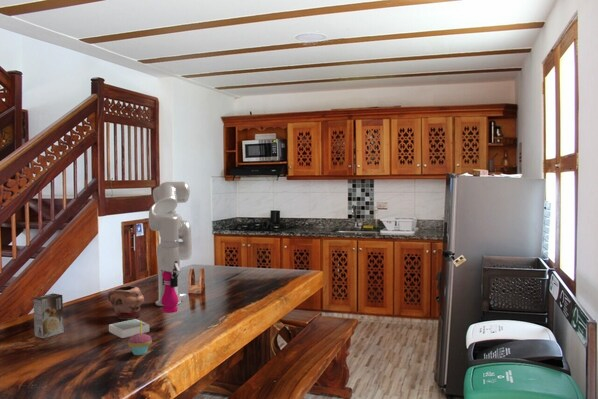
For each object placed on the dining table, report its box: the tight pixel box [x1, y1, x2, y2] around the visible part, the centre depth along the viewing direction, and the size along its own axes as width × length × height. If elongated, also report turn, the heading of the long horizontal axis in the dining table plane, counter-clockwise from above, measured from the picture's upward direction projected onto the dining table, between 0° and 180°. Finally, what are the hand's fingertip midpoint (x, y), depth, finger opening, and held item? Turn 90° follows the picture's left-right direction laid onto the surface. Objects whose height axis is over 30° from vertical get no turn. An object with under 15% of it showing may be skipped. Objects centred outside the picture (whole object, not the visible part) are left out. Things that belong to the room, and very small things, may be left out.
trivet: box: [108, 318, 150, 339], centre depth 210 cm, size 12×12×3 cm
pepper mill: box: [161, 270, 179, 314], centre depth 217 cm, size 7×7×20 cm
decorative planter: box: [107, 285, 145, 320], centre depth 232 cm, size 20×12×14 cm, turn 74°
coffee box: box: [32, 293, 65, 339], centre depth 206 cm, size 9×6×16 cm
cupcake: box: [127, 321, 153, 356], centre depth 184 cm, size 9×8×12 cm
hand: (170, 285), depth 217 cm, fingers closed on pepper mill, 5 cm apart
